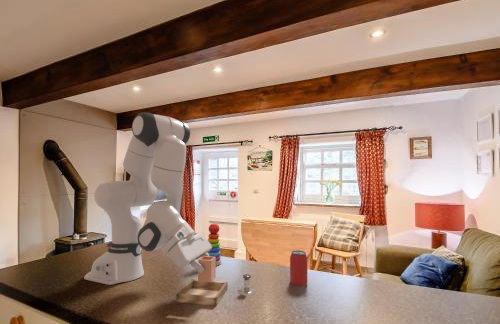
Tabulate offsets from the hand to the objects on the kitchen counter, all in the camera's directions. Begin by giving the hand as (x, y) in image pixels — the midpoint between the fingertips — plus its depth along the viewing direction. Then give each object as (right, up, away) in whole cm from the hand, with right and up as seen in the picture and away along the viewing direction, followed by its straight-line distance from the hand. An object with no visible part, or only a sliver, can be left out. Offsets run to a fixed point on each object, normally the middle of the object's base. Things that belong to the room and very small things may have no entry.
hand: (207, 268), depth 89 cm
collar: (0, -4, 0) cm, 4 cm away
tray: (-1, -10, 0) cm, 10 cm away
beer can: (+33, -11, +12) cm, 37 cm away
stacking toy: (-3, -12, +34) cm, 36 cm away
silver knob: (+13, -10, +3) cm, 17 cm away
